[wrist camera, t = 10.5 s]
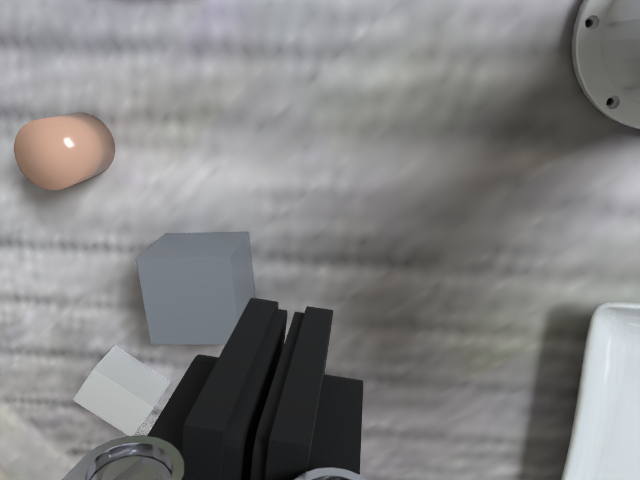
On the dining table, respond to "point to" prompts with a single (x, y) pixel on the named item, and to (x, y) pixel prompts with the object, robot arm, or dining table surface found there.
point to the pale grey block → (121, 391)
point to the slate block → (196, 286)
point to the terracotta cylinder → (63, 150)
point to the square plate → (608, 399)
